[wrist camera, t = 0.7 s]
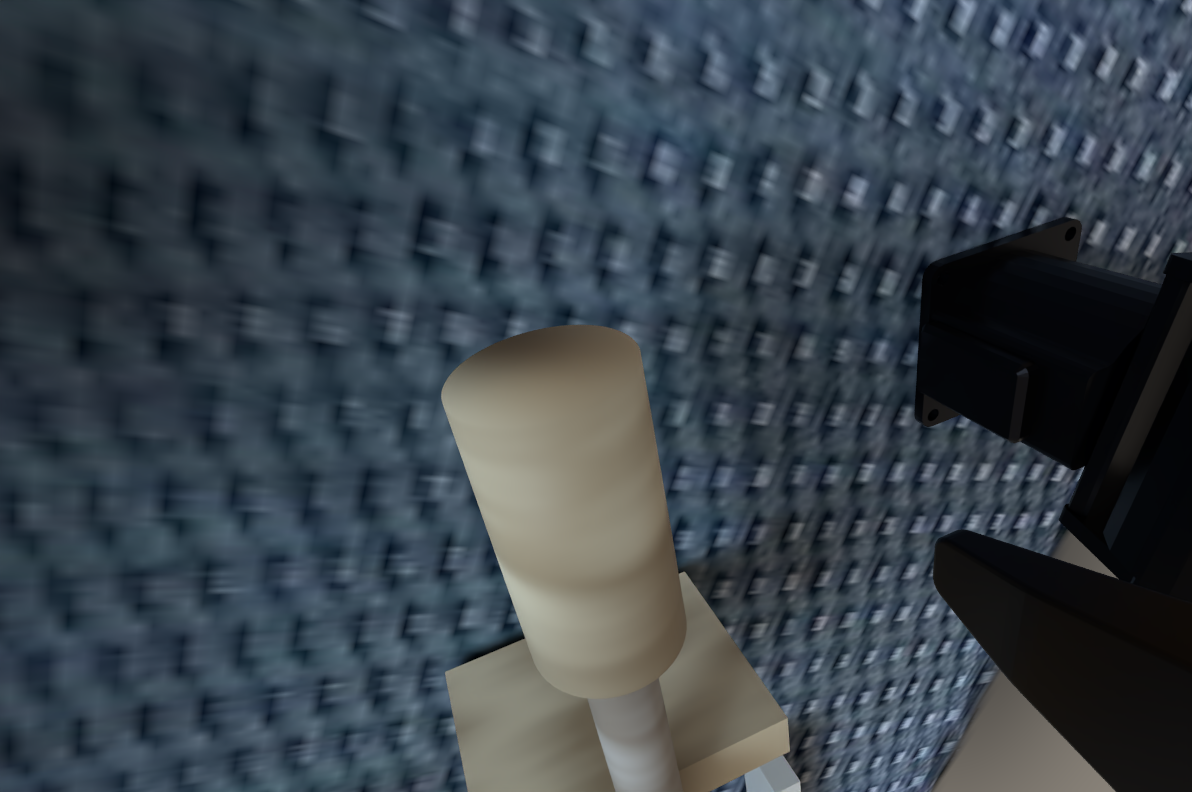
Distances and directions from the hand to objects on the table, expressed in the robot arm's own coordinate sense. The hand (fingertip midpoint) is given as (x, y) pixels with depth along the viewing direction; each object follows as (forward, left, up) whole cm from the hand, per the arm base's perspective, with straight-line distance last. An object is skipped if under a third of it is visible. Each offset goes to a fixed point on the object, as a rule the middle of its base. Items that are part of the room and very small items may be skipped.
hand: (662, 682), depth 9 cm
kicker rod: (0, +5, -11) cm, 12 cm away
